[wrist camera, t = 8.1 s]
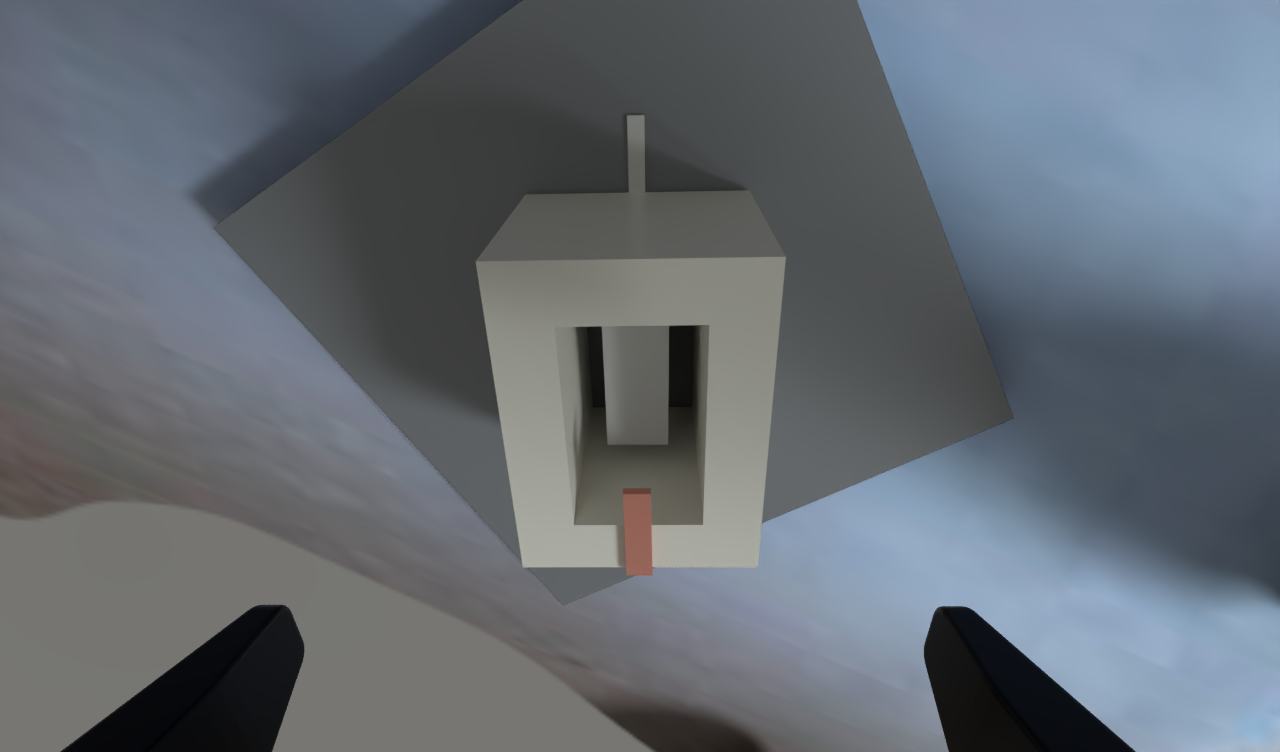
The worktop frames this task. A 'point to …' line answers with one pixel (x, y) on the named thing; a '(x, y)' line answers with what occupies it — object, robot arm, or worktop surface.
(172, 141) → the worktop surface
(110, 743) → the robot arm
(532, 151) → the grey peg base plate
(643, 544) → the square tube sleeve
